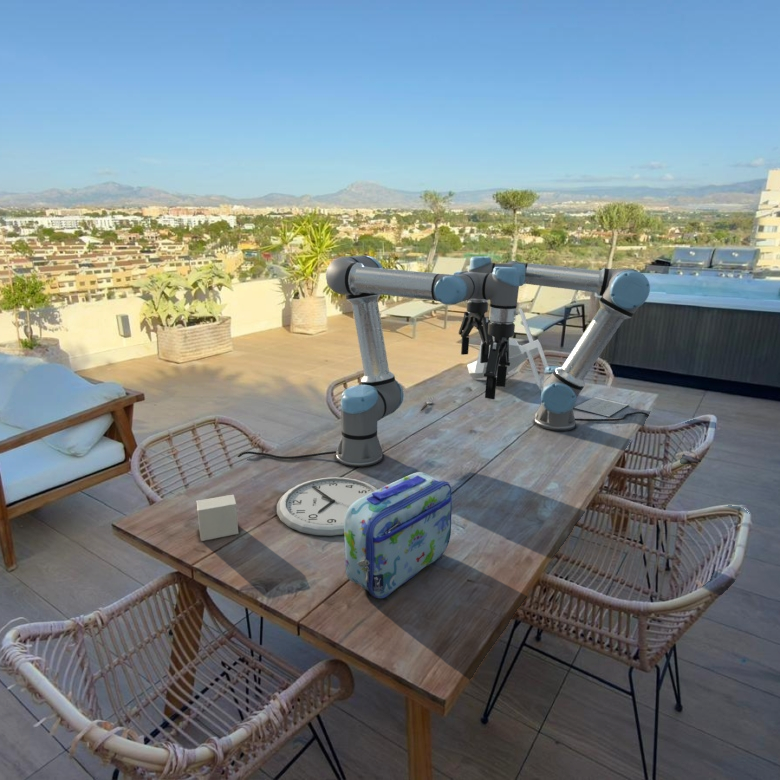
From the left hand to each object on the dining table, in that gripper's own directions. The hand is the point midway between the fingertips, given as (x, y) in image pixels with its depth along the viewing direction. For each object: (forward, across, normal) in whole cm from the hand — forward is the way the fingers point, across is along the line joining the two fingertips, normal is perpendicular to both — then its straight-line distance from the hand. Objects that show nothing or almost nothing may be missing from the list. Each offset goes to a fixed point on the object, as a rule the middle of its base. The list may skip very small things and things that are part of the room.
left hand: (495, 392), depth 157 cm
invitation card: (+26, +83, -29) cm, 92 cm away
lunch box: (+26, -59, +5) cm, 64 cm away
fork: (+26, +49, +39) cm, 68 cm away
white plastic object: (+26, +96, +15) cm, 100 cm away
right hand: (0, +36, +17) cm, 39 cm away
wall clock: (+26, -40, +33) cm, 58 cm away
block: (+27, -64, +52) cm, 86 cm away
